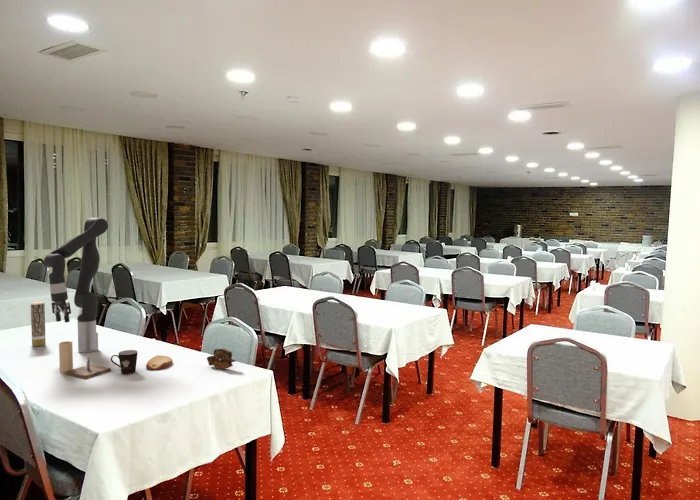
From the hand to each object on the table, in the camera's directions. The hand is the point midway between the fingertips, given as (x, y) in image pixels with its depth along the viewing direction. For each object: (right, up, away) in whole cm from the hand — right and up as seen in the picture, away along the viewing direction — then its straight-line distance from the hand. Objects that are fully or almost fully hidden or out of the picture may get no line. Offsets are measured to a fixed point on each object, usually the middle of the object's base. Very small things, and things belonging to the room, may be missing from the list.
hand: (63, 321), depth 272 cm
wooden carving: (+87, -22, -13) cm, 91 cm away
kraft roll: (+13, -21, -20) cm, 32 cm away
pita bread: (+53, -22, -7) cm, 58 cm away
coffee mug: (+42, -22, -21) cm, 52 cm away
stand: (+25, -22, -22) cm, 40 cm away
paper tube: (-30, -18, +28) cm, 44 cm away
